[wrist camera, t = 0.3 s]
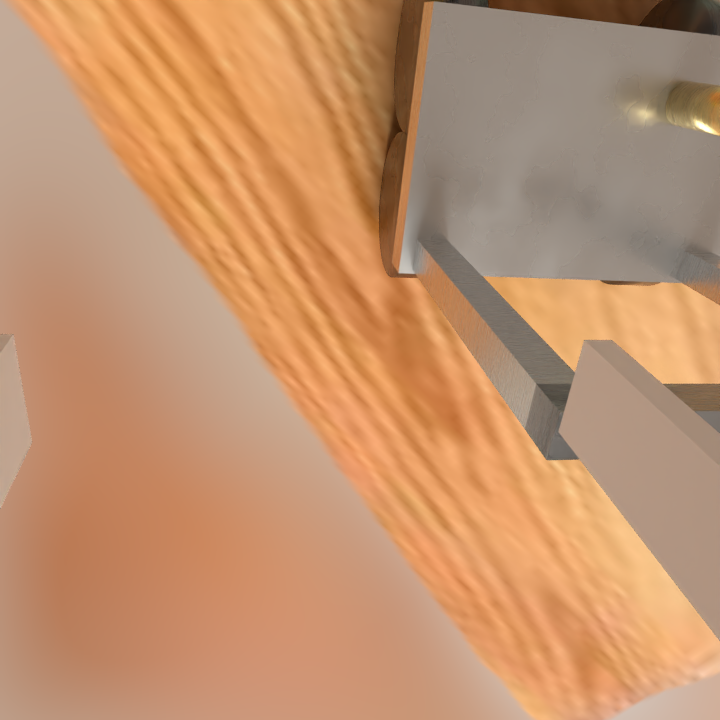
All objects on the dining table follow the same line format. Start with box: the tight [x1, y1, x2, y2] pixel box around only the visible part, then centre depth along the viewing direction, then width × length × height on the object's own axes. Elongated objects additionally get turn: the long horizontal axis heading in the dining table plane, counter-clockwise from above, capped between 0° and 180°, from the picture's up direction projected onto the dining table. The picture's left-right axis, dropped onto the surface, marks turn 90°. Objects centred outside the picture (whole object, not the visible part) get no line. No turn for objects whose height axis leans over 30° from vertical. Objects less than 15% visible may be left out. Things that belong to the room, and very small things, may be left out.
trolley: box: [379, 0, 720, 460], centre depth 28 cm, size 16×18×26 cm
